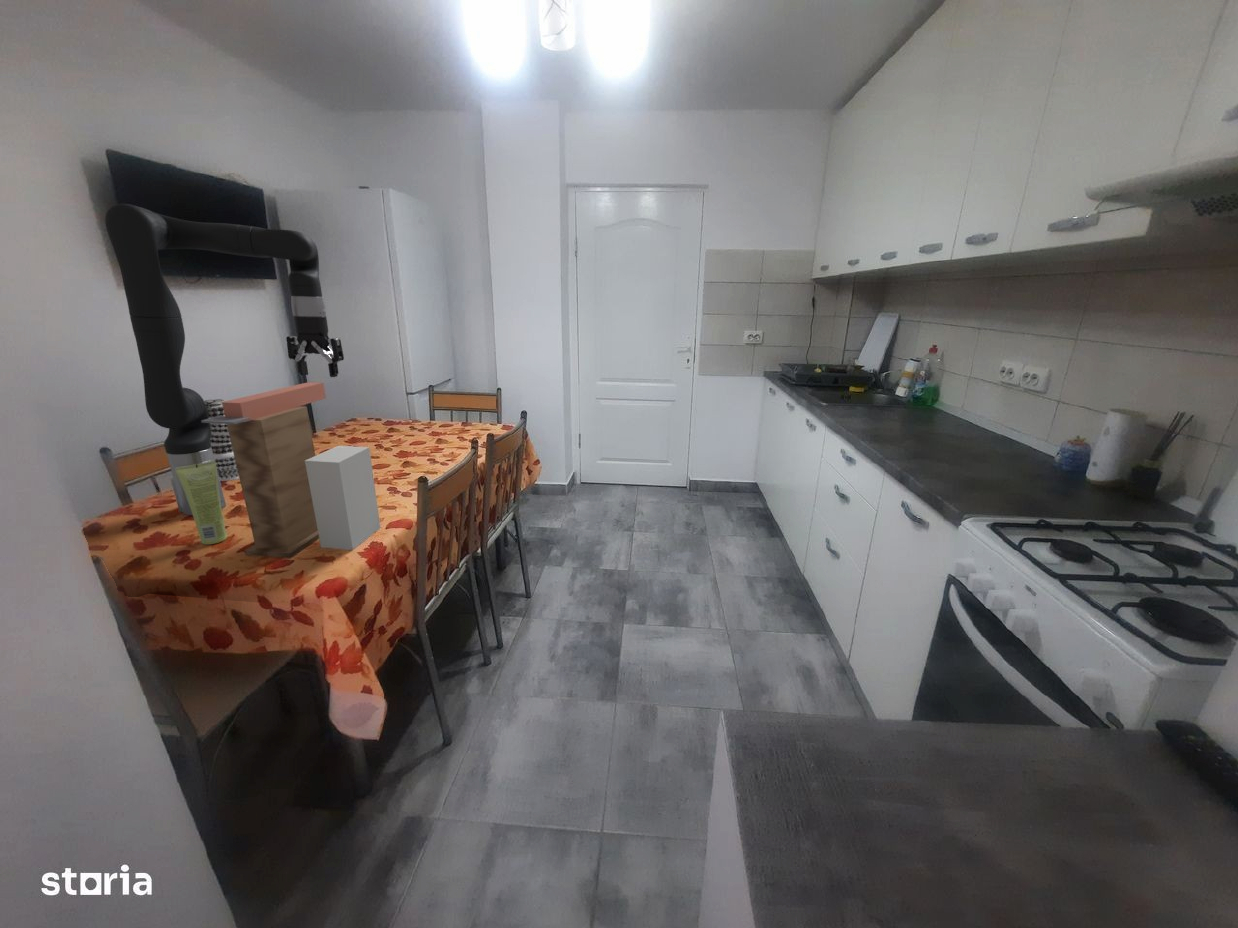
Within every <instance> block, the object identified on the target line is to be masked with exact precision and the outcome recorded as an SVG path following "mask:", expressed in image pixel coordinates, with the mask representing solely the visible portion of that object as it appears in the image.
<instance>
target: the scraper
mask: <svg viewBox="0 0 1238 928" xmlns="http://www.w3.org/2000/svg"><path fill="white" fill-rule="evenodd" d="M326 399H327V396H326V389H325V383H324V382H311V381H308V382H305V383H304V382H303V383H300V384H294V385H290V386H287V387H283V388H281V387H280V388H278V389H273V390H269V391H264V392H259V393H256V394H251V395H247V396H243V397H238V398H234V399H230V400H224V401H225V402H222V405H223V410H224V414H225V416H217V417H213V418H209V419H205V420H202V421H201V422H202V423H219V424H237V423H241V422H246V421H250V420H253V419H257V418H260V417H264V416H267V415H270V414H274V413H277V412H281V411H284V410H288V409H291V408H295V407H298V406H304V405H308V404H311V403H315V402H318V401H322V400H326Z"/></svg>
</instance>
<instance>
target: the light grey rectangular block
mask: <svg viewBox="0 0 1238 928" xmlns="http://www.w3.org/2000/svg"><path fill="white" fill-rule="evenodd" d="M305 464H306V470H307V475H308V480H309V486H310V491H311V496H312V502H313V507H314V512H315V518H316V523H317V528H318V534H319V539H318V540H319V543H320V548H321V549H333V550H334V549H335V550H347V551H354V550H355V549H356V548H357V547H358V546H360V545H361V544H362V543H364V542H365V541H366V540H367V539H369V538H370V537H371V536H372V535H374V534H375V533H376V532H377V531H378V530H380V529H381V522H380V513H379V506H378V505H379V504H378V500H377V494H376V486H375V478H374V472H373V465H372V456H371V450H370V446H350V445H337V446H334V447H332V448H330V449H328V450H326V451H323V452H321V453H318V454H317V455H316V454H315V456H314V457H312V458H310V459H307V460H305ZM373 533H374V534H373Z"/></svg>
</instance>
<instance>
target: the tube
mask: <svg viewBox="0 0 1238 928" xmlns="http://www.w3.org/2000/svg"><path fill="white" fill-rule="evenodd" d="M175 472H176V473H177V475H178V477H179V479H180V482H181V484H182V486H183V489H184V492H185V494H186V497H187V499H188V502H189V505H190V508H191V511H192V514H193V515H192V517H193V519H194V523H195V525H196V530H197V532H198V533H197V534H198V536H199V540H200V542H201V544H202V545H213V544H218V543H221V542H223V541H225V540H226V539H227V538H228V536H227V535H228V534H227V529H226V526H225V520H224V514H223V508H221V502H220V496H219V489H218V481H217V471H216V461H212V462H207V463H201V464H196V465H190V466H185V467H179V468H175Z"/></svg>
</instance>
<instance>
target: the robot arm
mask: <svg viewBox="0 0 1238 928" xmlns="http://www.w3.org/2000/svg"><path fill="white" fill-rule="evenodd" d="M104 221H105V222H104V223H105V228H106V231H107V235H108V237H109V239H110V244H111V246H112V248H113V251H114V254H115V257H116V260H117V263H118V265H119V269H120V275H121V278H122V284H123V288H124V289H123V290H124V294H125V297H126V301H127V302H126V303H127V308H128V313H129V318H130V322H131V327H132V331H133V334H134V338H135V342H136V346H137V352H138V356H139V361H140V365H141V369H142V377H143V386H144V387H143V389H144V400H145V408H146V412H147V414H148V416H149V418H150V419H151V420H152V422H154V423H155V424H157V425H158V426H159V427H161V428H164V429H168V435H167V437H166V439H165V440H164V443H163V445H164V450H165V453H166V457H167V461H168V463H169V467H170V470H171V474H172V478H171V479H170V483H171V486H172V489H173V493H174V498H175V500H176V504H177V507H178V510H179V513H183V514H184V515H187V516H193V514H192V511H191V508H190V505H189V502H188V499H187V497H186V494H185V492H184V489H183V486H182V484H181V482H180V479H179V477H178V475H177V473H176V472H175V468H179V467H185V466H190V465H196V464H201V463H207V462H212V461H215V459H214V455H213V451H212V447H211V443H210V439H211V427H210V423H202V422H201V421H202V420H205V419H209V416H208V412H207V407H206V404H205V402H204V401H205V400H204V399H203V397H202V396H201V394H200V393H198V392H197V391H195V390H193V389H191V388H188V387H183V384H182V379H181V363H182V360H183V359H182V358H183V354H184V350H185V344H186V343H185V342H186V333H185V327H184V321H183V316H182V313H181V309H180V307H179V304H178V302H177V300H176V299H175V297H174V295H173V293H172V291H171V289H170V288H169V286H168V284H167V282H166V280H165V278H164V276H163V273H162V269H161V264H160V263H161V262H160V258H159V250H160V251H161V250H178V249H179V250H182V249H183V250H184V249H186V250H203V251H210V252H216V253H222V254H229V255H233V256H243V257H253V258H259V259H260V258H261V259H262V258H266V259H267V258H272V259H273V258H274V259H279V260H280V259H282V260H288V262H289V268H290V269H289V270H290V273H289V274H288V285H289V287H288V288H289V291H290V293H289V294H290V296H291V297H290V300H291V301H290V302H291V311H292V317H293V322H294V330H295V332H296V333H297V336H296V335H291V336H290V335H289V336H286V339H285V340H286V346H287V356H288V358H289V360H294V361H295V362H296V365H297V370H298V373H299V374H300V376H301V377H302V376H308V375H309V370H308V363H307V361H306V360H307V358H308V356H309V355H310V354H315V355H320V356H322V357H323V358H325V359H326V361H327V362H328V363H327V366H328V372H329V376H330V378H336V377H338V375H339V367H338V362H341V361H344V360H345V358H344V357H345V356H344V351H343V346H342V341H341V338H340V337H334V338H330V337H329V328H328V327H329V326H328V325H329V324H328V319H327V312H326V306H325V302H324V298H323V294H322V287H321V281H320V258H319V251H318V248H317V247H318V246H317V244H316V243H315V241H314V239H313V238H311V237H310V236H308V234H307V235H306V234H305V233H303V232H301V231H298V230H292V229H291V230H290V229H281V228H280V229H279V228H263V227H260V226H259V227H258V226H251V225H243V224H234V223H224V222H199V221H190V220H186V219H185V220H184V219H180V218H176V217H171V216H168V215H164V214H160V213H158V212H154V211H152V210H150V209H147V208H145V207H141V206H137V205H135V204H134V205H133V204H129V203H117V204H114V205H112V206H110V208H108V210H107V211H106V214H105V217H104ZM298 344H299V345H300V346H299V345H298ZM329 346H330V347H329ZM216 471H217V467H216ZM217 481H218V489H219V496H220V502H221V508H222V509H223V508H225V507H226V499H225V496H224V491H223V488H222V483H221V481H220V479H219V475H218V471H217Z"/></svg>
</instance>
